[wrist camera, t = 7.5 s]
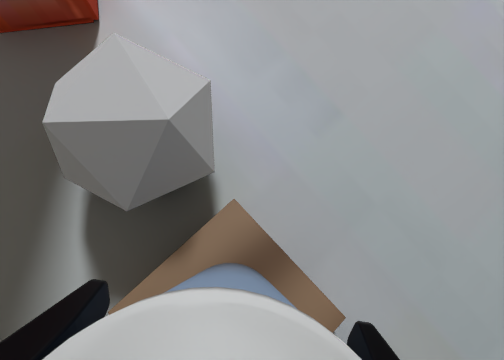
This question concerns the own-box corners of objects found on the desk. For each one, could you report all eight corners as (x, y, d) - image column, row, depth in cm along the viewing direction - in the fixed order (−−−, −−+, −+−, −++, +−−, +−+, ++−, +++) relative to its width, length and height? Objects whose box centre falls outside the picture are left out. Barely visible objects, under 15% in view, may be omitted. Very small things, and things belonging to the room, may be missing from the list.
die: (144, 80, 23) (-19, 39, 14) (246, 60, 19) (103, -15, 10) (151, 189, 24) (1, 214, 15) (250, 193, 20) (121, 231, 11)
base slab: (331, 310, 19) (345, 317, 16) (224, 431, 17) (222, 459, 14) (234, 206, 20) (234, 198, 18) (124, 305, 18) (107, 312, 16)
